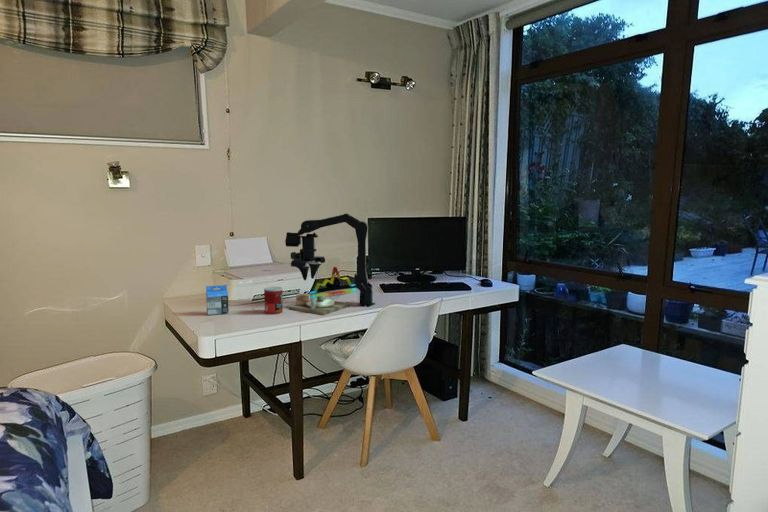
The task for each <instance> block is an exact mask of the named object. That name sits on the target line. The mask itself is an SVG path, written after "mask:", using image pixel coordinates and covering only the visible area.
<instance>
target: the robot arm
mask: <svg viewBox="0 0 768 512" xmlns="http://www.w3.org/2000/svg"><path fill="white" fill-rule="evenodd" d="M343 223H346V224H347V225H349V226H350V227H352V228H353V229H354V230H355V236H356V239H357V272H355V273H354V275H353V277H354V283H353V284H355V287H356V288H355V289H357V290H359V302H358V303H356V304H357V306H360V307H362V306H363V307H371V306H374V305H376V302H373V295H374V294H373V289H374V287H373V284H371V283H370V282H369V277H368V273H367V256H366V255H367V249H366V248H367V247H366V246H367V236H368V232H369V225H368V223H367V222H366V221H364V220H359V219H357V218H356V217H354V216H352V215H350V214H349V213H348V212H347V213H344V214H340V215H335V216H332V217H327V218H322V219H307V220H304V221H302V222H301V224H300V229H299V230H298V231H297V232H289V231H288V232H286V235H285V239H284V242H285V246H286V248H287V247H289V248H290V247H291V248H296V247H298V248H299V247H300V245H301V248H300V250H299V252H296V251H292V252H290V259H291V262H290V267H291V268H292V267H294V268H298V270H299V271H300V274H301V276H302V280H303V281H307V279H308V274H309V269H310V278H311V279H315V277H316V273H318V272H317V271H318V270H319V268H320V267H321V266H322V264H325V263H326V257H324V256H320V255H316V256H315V252H317V248H315V238H316V239H317V238H318V237H319V235H318V234H317V232H316V231H317V230H319V229H321V228H325V227H330V226H333V225H338V224H339V225H340V224H343ZM312 232H313V233H312ZM305 234H306V235H305Z"/></svg>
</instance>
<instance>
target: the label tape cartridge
mask: <svg viewBox="0 0 768 512" xmlns="http://www.w3.org/2000/svg"><path fill="white" fill-rule="evenodd" d="M227 286H228V285H227V284H224V285H221V284H220V285H208V286H207V285H206V287H205V290H206V291H205V295H206V298H205V300H206V301H205V302H206V315H207V316H214V315H228V314H229V310H230V309H229V294H228V288H227ZM216 288H217V289H216Z"/></svg>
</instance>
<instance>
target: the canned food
mask: <svg viewBox="0 0 768 512" xmlns="http://www.w3.org/2000/svg"><path fill="white" fill-rule="evenodd" d="M263 290H264V291H263V295H264V312H265V314H267V315H279V314H282V313H283V309H284V308H283V307H284V306H283V305H284V304H283V302H284V301H283V300H284V299H283V288H282V287H281V286H267V287H264V289H263Z"/></svg>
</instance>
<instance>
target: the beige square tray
mask: <svg viewBox="0 0 768 512" xmlns="http://www.w3.org/2000/svg"><path fill="white" fill-rule="evenodd" d="M288 307H289V308H288V309H289V310H293V311H297V312H305V313H310V314H315V315H320V316H325V315H329V314H331V313H334V312H337V311H340V310H342V309H345V308H348V307H351V303H349V302H344V301H337V300H334V305H333V306H330V307H322V308H316V299H311V307H309V306H307V305H296V304H293V305H289V306H288Z"/></svg>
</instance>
